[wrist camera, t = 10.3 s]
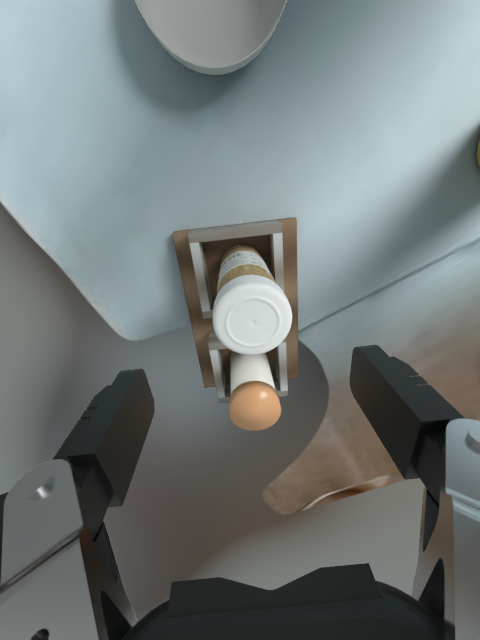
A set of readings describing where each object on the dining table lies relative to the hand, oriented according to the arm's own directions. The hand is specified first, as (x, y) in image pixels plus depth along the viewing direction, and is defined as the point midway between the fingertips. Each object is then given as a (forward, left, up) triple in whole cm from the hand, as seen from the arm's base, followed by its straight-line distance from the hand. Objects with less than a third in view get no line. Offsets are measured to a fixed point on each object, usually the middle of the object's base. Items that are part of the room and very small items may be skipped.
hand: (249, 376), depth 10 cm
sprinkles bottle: (0, +1, -18) cm, 18 cm away
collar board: (+6, 0, -19) cm, 20 cm away
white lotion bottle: (+11, 0, -18) cm, 21 cm away
